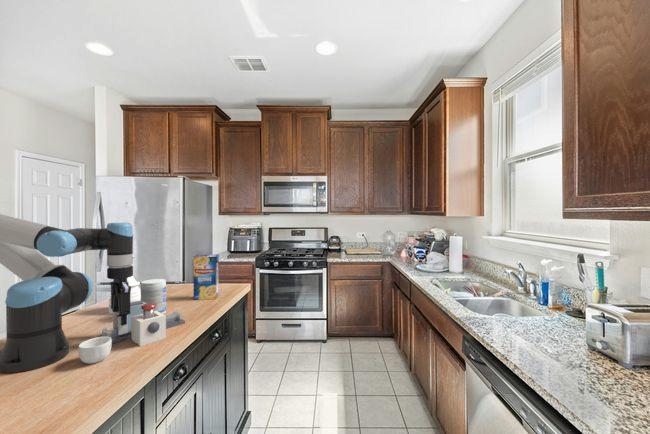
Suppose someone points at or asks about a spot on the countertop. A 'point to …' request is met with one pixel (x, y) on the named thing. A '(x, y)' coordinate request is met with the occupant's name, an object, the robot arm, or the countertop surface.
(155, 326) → the white push button housing
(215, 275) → the blue cardboard box
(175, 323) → the rail
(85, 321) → the countertop surface
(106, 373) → the countertop surface
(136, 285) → the honey pot
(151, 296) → the supplement tub
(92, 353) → the teacup
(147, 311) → the plunger
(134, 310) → the carriage
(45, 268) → the robot arm
